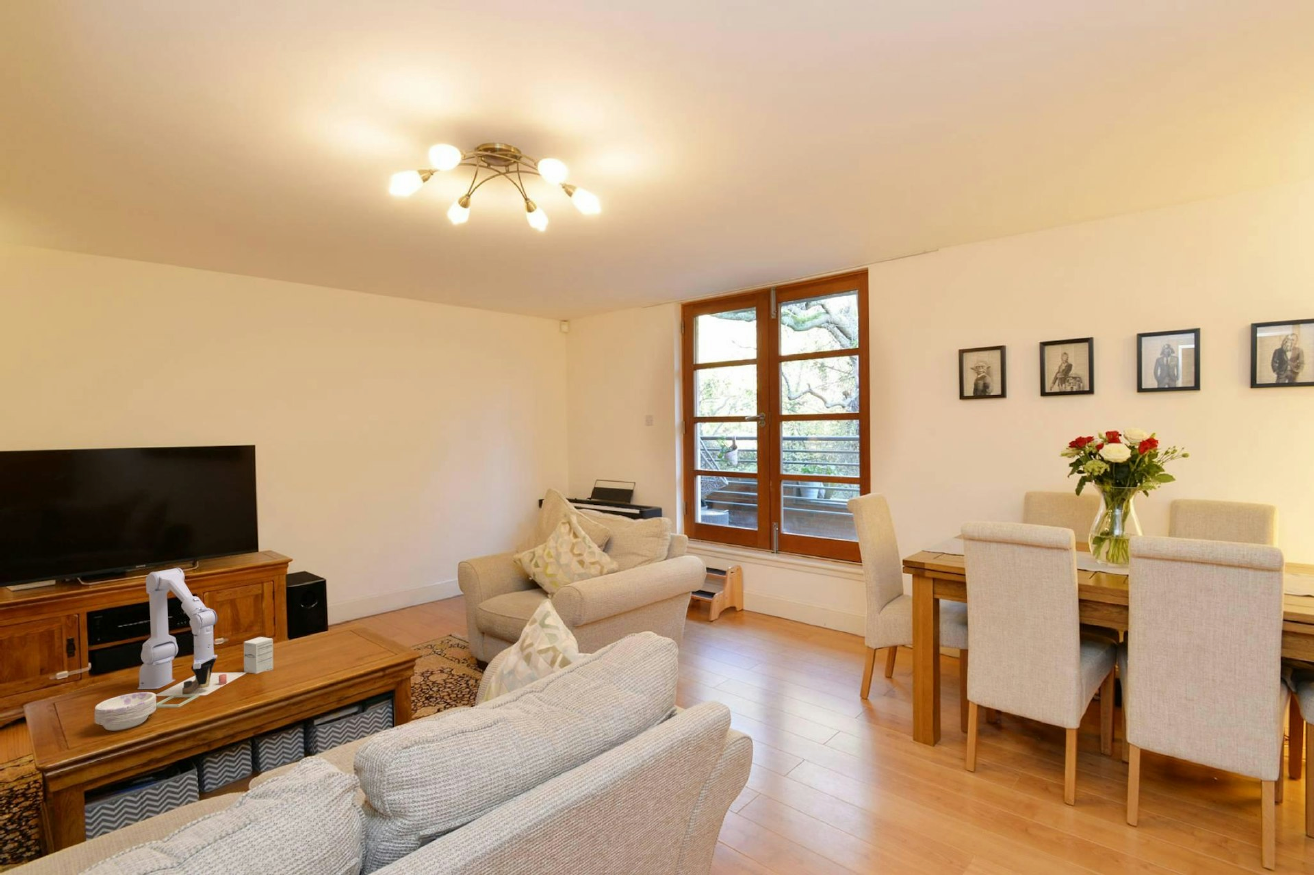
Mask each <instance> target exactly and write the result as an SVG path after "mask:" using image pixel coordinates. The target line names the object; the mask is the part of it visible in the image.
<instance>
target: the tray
mask: <svg viewBox="0 0 1314 875" xmlns="http://www.w3.org/2000/svg"><path fill="white" fill-rule="evenodd" d="M199 697H200V695H199V694H180V695H172V696H167V698H164V699H162V700H160V701H159V702H156V709H158V708H180V707H182V706H184V705H185V704H188V703H190V702H191V701H193V700H195V699H197V698H199ZM174 698H187V699H186V700H184V701H182V702H181V703H178V704H165V703H166V702H167V701H169V700H172V699H174Z"/></svg>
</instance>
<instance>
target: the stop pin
mask: <svg viewBox="0 0 1314 875" xmlns="http://www.w3.org/2000/svg"><path fill="white" fill-rule="evenodd" d="M208 686H210V669H209V671H208V675H207V681H206V684H202V685H199V688H205V687H208Z"/></svg>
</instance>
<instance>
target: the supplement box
mask: <svg viewBox="0 0 1314 875" xmlns="http://www.w3.org/2000/svg"><path fill="white" fill-rule="evenodd" d="M272 670H274V639H273V638H271V637H270V638H269V637H265V636H258V637H255V638H252V639H249V640H246V641H243V672H247V673H251V674H256V675H257V674H260V673H263V672H270V671H272Z"/></svg>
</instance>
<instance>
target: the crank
mask: <svg viewBox="0 0 1314 875" xmlns="http://www.w3.org/2000/svg"><path fill="white" fill-rule="evenodd" d="M194 676H195V675H194ZM198 687H199V684H198V682H197V678H196V676H195V680H194V681H193V682H192V681H186V682H184V687H183V688H182V694H190V693H191V692H193V691H194V690H195V689H197V688H198Z"/></svg>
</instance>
